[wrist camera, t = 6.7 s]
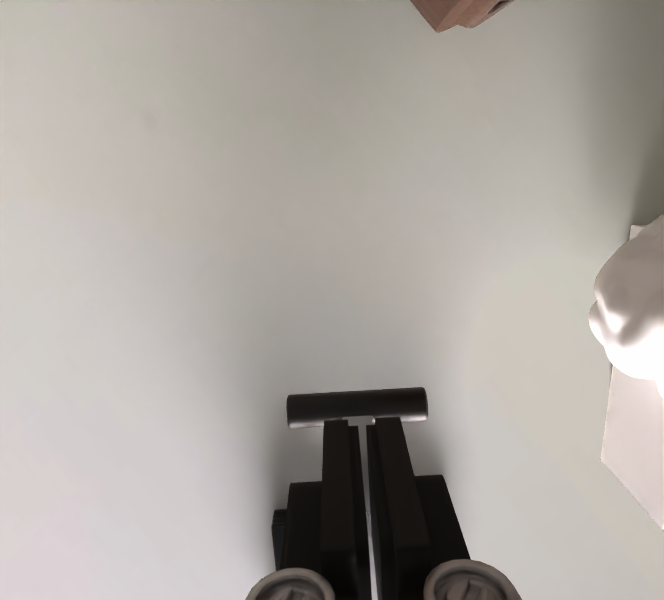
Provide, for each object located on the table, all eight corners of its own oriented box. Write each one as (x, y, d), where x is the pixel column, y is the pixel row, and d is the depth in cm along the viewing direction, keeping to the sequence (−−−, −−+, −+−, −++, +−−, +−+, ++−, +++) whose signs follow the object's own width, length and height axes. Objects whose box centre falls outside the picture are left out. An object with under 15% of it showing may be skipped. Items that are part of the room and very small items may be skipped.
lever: (291, 397, 21) (283, 392, 19) (420, 390, 21) (428, 383, 19) (304, 800, 18) (297, 853, 15) (458, 794, 18) (474, 847, 15)
